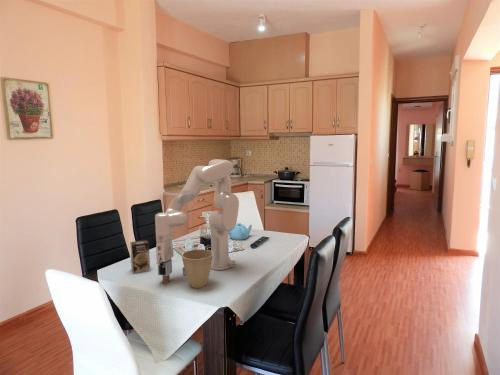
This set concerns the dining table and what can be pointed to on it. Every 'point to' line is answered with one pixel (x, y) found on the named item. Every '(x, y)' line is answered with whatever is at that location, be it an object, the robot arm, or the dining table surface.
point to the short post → (184, 271)
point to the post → (166, 278)
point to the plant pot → (197, 266)
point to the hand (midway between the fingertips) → (165, 272)
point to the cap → (167, 267)
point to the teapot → (239, 232)
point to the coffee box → (140, 256)
